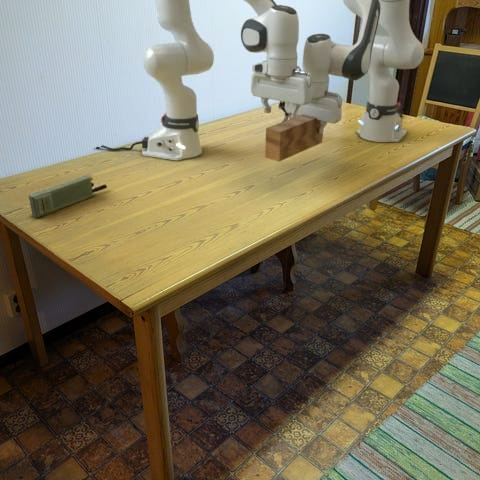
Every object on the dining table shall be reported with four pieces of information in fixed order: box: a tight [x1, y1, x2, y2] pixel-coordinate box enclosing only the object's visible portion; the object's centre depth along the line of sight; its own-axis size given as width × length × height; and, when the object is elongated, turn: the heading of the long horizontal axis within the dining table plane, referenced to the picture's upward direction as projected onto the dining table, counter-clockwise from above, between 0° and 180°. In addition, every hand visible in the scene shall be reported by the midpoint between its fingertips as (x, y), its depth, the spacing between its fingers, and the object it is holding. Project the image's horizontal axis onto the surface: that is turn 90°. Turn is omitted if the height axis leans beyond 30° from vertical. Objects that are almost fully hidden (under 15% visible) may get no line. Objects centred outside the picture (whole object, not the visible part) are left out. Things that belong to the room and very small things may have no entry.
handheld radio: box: [28, 173, 108, 219], centre depth 150 cm, size 7×3×25 cm
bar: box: [264, 115, 324, 162], centre depth 163 cm, size 24×6×10 cm, turn 139°
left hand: (279, 115), depth 153 cm, fingers open, 8 cm apart
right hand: (311, 131), depth 169 cm, fingers closed on bar, 5 cm apart
